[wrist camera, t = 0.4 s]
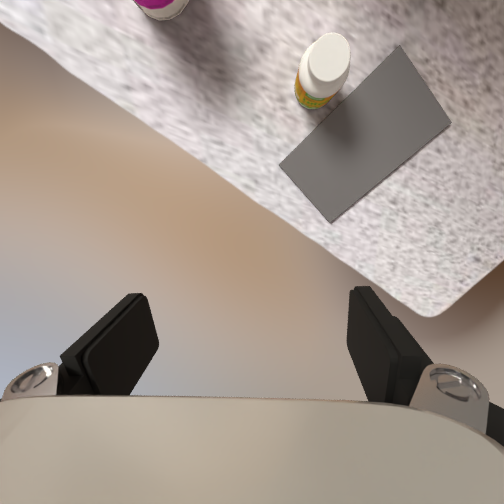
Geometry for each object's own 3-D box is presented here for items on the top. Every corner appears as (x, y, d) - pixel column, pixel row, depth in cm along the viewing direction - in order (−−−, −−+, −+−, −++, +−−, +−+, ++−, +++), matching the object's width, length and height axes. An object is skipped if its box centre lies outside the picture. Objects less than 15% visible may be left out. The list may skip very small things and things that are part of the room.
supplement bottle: (295, 113, 34) (303, 94, 25) (292, 67, 32) (299, 29, 23) (335, 106, 33) (358, 84, 24) (334, 59, 31) (358, 16, 22)
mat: (397, 46, 30) (399, 45, 30) (449, 123, 33) (451, 122, 32) (278, 164, 36) (278, 164, 36) (329, 222, 39) (329, 222, 38)
